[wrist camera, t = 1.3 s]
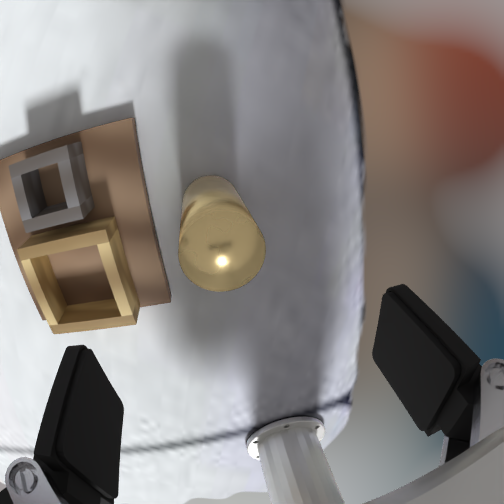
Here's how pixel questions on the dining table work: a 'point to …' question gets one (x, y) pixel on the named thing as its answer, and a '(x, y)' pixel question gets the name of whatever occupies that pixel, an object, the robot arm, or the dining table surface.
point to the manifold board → (84, 228)
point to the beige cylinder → (218, 236)
